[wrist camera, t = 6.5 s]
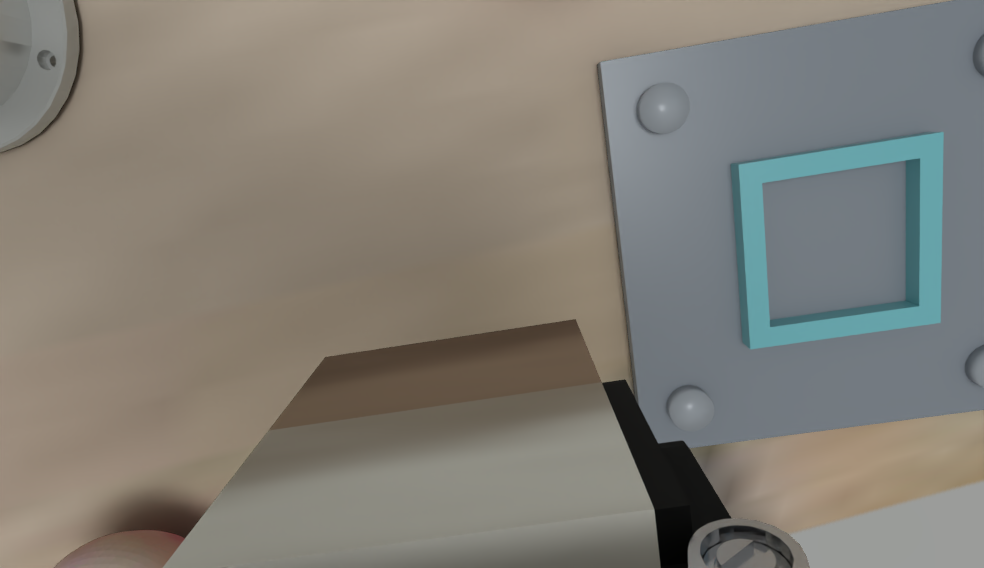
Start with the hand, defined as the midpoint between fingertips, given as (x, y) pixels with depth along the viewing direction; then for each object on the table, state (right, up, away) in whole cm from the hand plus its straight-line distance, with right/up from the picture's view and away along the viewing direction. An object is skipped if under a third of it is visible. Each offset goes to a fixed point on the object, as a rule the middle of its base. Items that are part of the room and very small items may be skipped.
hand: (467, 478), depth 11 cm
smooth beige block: (0, 0, +1) cm, 1 cm away
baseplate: (+17, +6, +18) cm, 26 cm away
